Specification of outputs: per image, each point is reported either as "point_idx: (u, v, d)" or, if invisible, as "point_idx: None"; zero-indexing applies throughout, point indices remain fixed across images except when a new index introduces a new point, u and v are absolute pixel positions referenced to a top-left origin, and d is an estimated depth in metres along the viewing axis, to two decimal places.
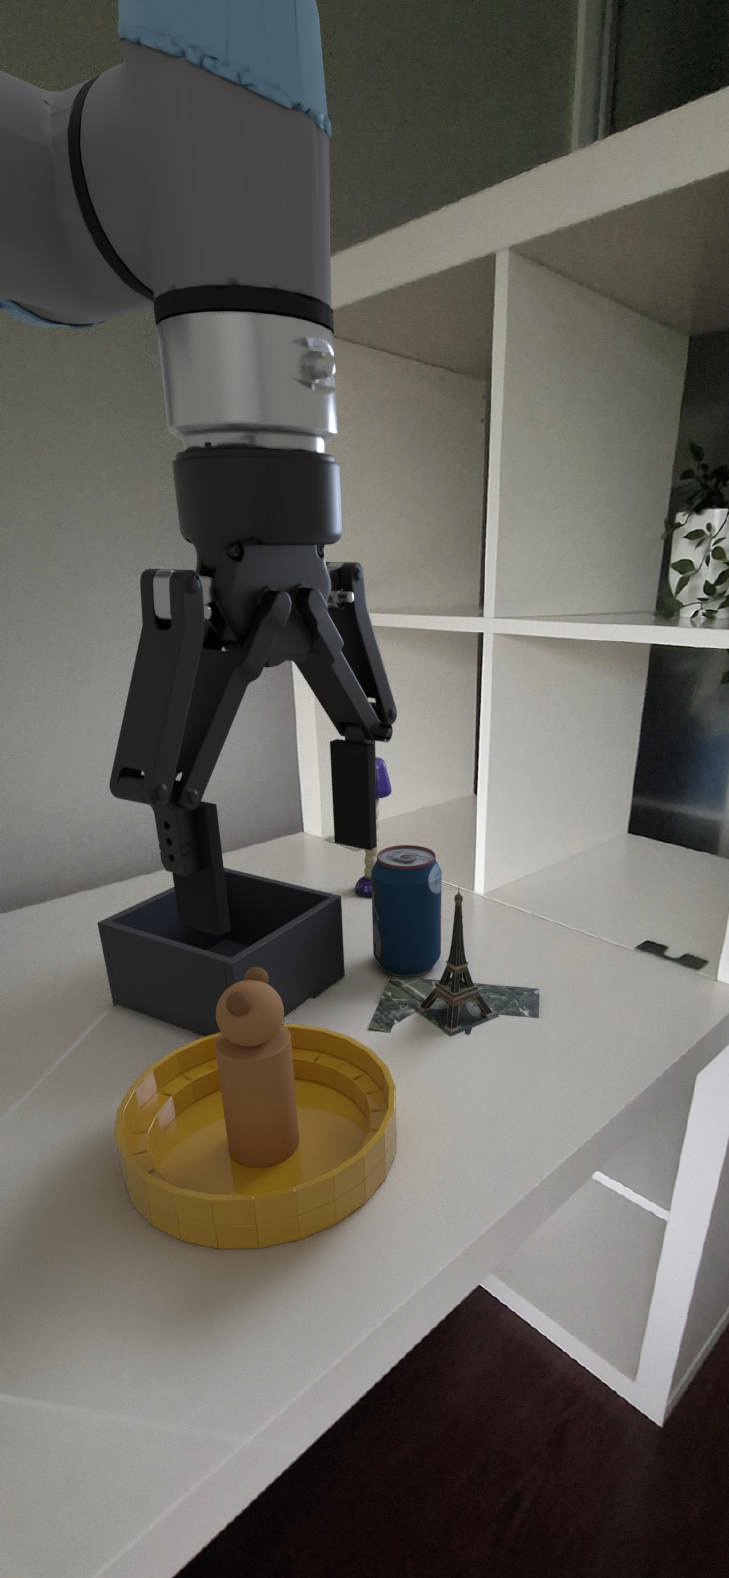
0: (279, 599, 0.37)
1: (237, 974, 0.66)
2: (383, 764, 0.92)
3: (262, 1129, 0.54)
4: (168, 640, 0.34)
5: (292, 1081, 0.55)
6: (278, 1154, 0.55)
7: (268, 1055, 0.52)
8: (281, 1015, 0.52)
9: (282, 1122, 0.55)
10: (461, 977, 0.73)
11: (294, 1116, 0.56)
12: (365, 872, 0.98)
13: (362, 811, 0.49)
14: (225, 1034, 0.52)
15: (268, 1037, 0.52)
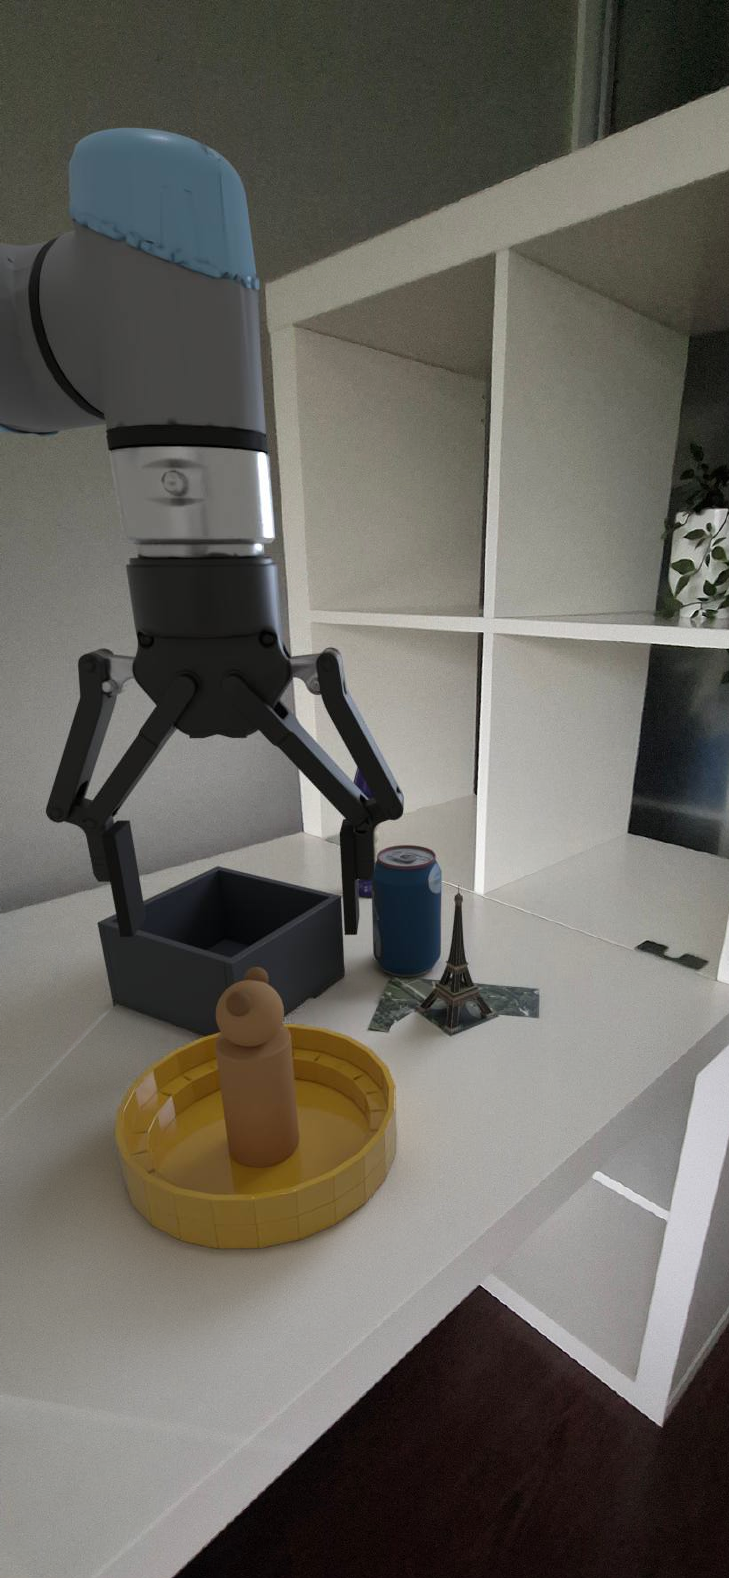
0: (177, 682, 0.42)
1: (237, 974, 0.66)
2: None
3: (262, 1129, 0.54)
4: None
5: (292, 1081, 0.55)
6: (278, 1154, 0.55)
7: (268, 1055, 0.52)
8: (281, 1015, 0.52)
9: (282, 1122, 0.55)
10: (461, 977, 0.73)
11: (294, 1116, 0.56)
12: None
13: None
14: (225, 1034, 0.52)
15: (268, 1037, 0.52)
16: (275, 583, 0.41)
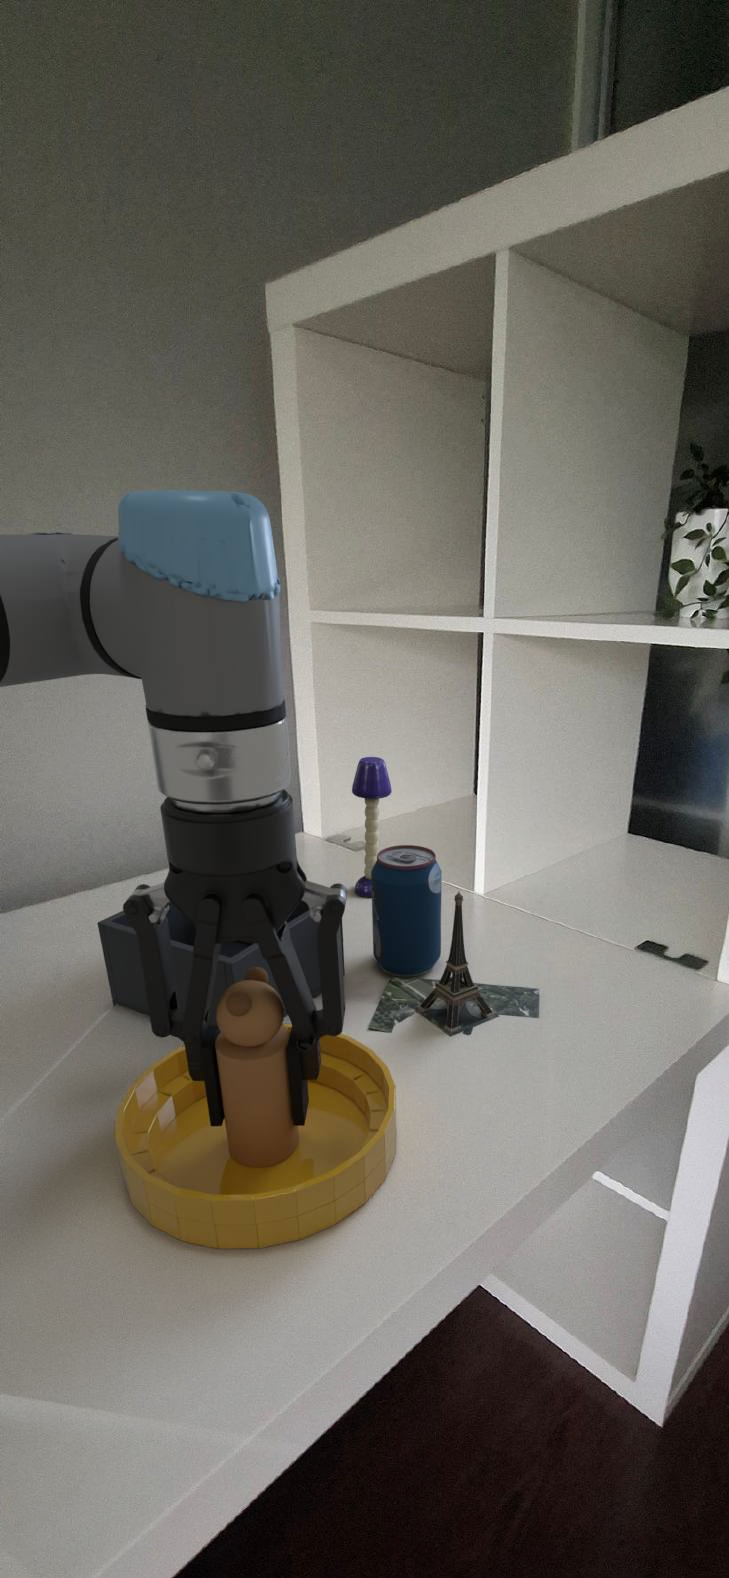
0: (204, 904, 0.47)
1: (237, 974, 0.66)
2: (383, 764, 0.92)
3: (262, 1129, 0.54)
4: None
5: None
6: (278, 1154, 0.55)
7: (268, 1055, 0.52)
8: (281, 1015, 0.52)
9: (282, 1122, 0.55)
10: (461, 977, 0.73)
11: None
12: (365, 872, 0.98)
13: None
14: (225, 1034, 0.52)
15: (268, 1037, 0.52)
16: (291, 820, 0.47)
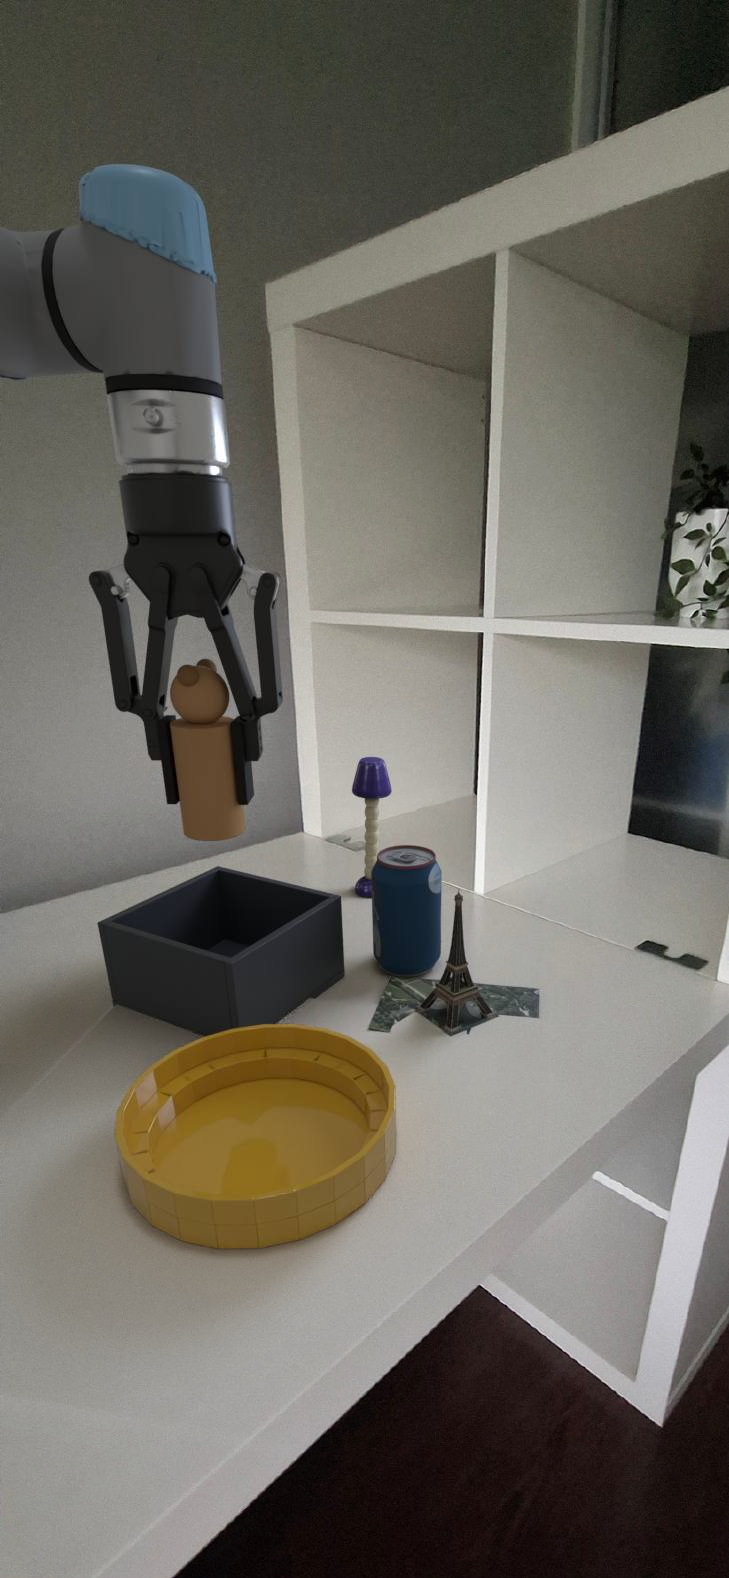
0: (156, 571, 0.56)
1: (237, 974, 0.66)
2: (383, 764, 0.92)
3: (210, 801, 0.63)
4: None
5: None
6: (225, 830, 0.64)
7: (214, 727, 0.61)
8: (226, 695, 0.61)
9: (228, 799, 0.63)
10: (461, 977, 0.73)
11: None
12: (365, 872, 0.98)
13: None
14: (177, 707, 0.60)
15: (214, 712, 0.61)
16: (229, 497, 0.55)
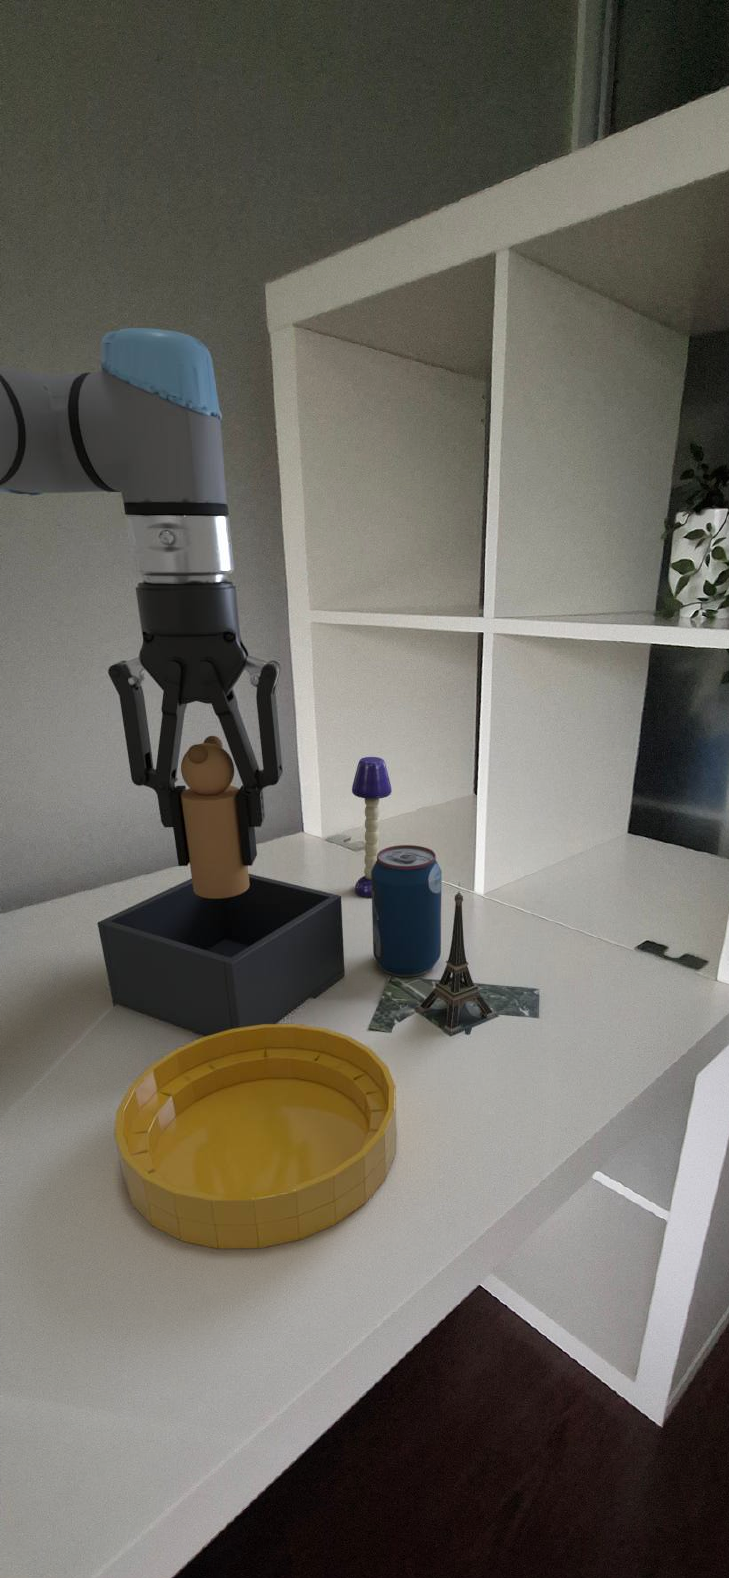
0: (169, 665, 0.63)
1: (237, 974, 0.66)
2: (383, 764, 0.92)
3: (218, 863, 0.70)
4: None
5: None
6: (231, 888, 0.71)
7: (221, 798, 0.68)
8: (231, 769, 0.68)
9: (234, 861, 0.70)
10: (461, 977, 0.73)
11: None
12: (365, 872, 0.98)
13: None
14: (187, 781, 0.67)
15: (221, 785, 0.68)
16: (234, 600, 0.62)
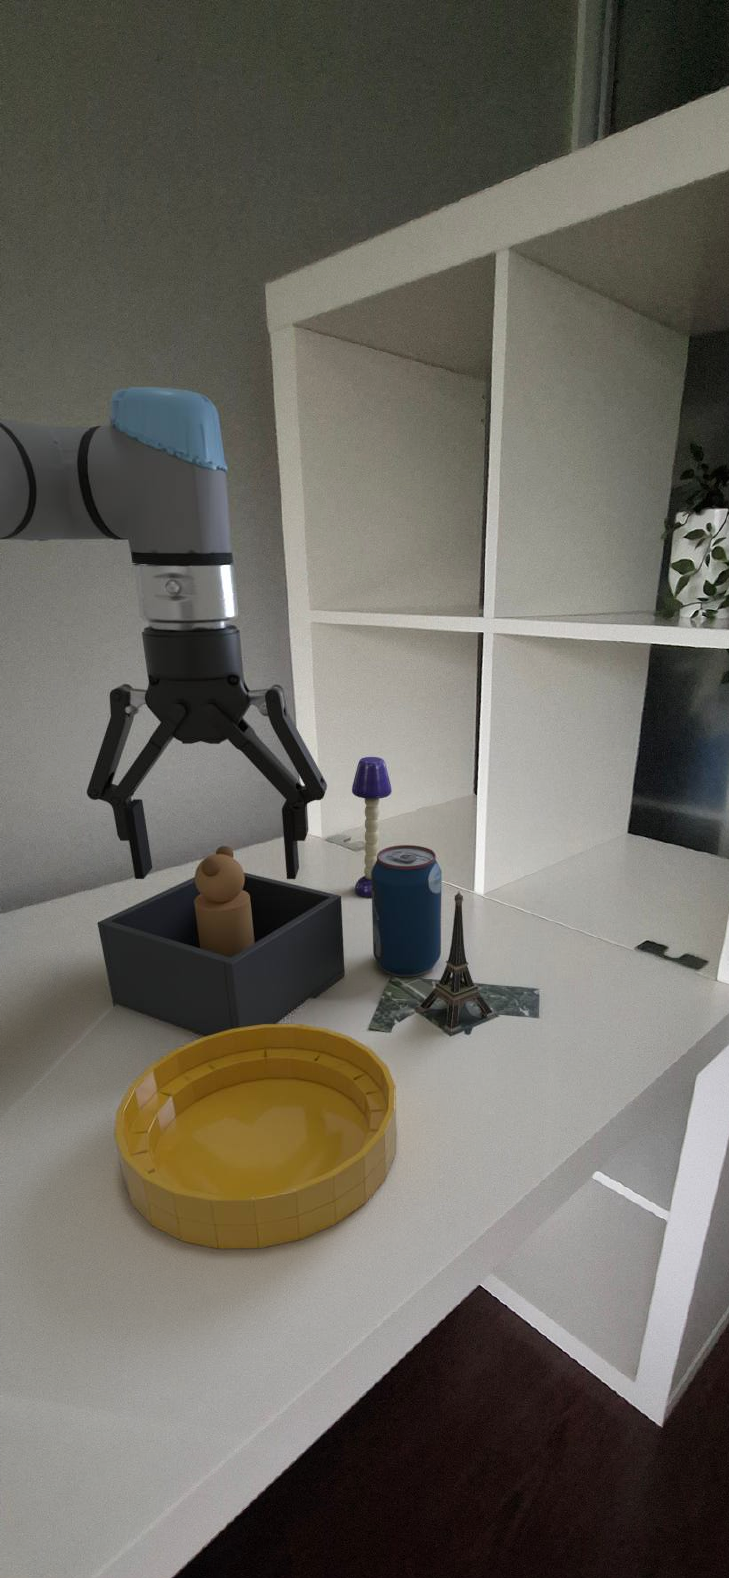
0: (174, 708, 0.64)
1: (237, 974, 0.66)
2: (383, 764, 0.92)
3: None
4: None
5: (251, 932, 0.75)
6: None
7: (232, 907, 0.72)
8: (242, 879, 0.72)
9: None
10: (461, 977, 0.73)
11: None
12: (365, 872, 0.98)
13: None
14: (201, 891, 0.72)
15: (232, 894, 0.72)
16: (238, 644, 0.64)
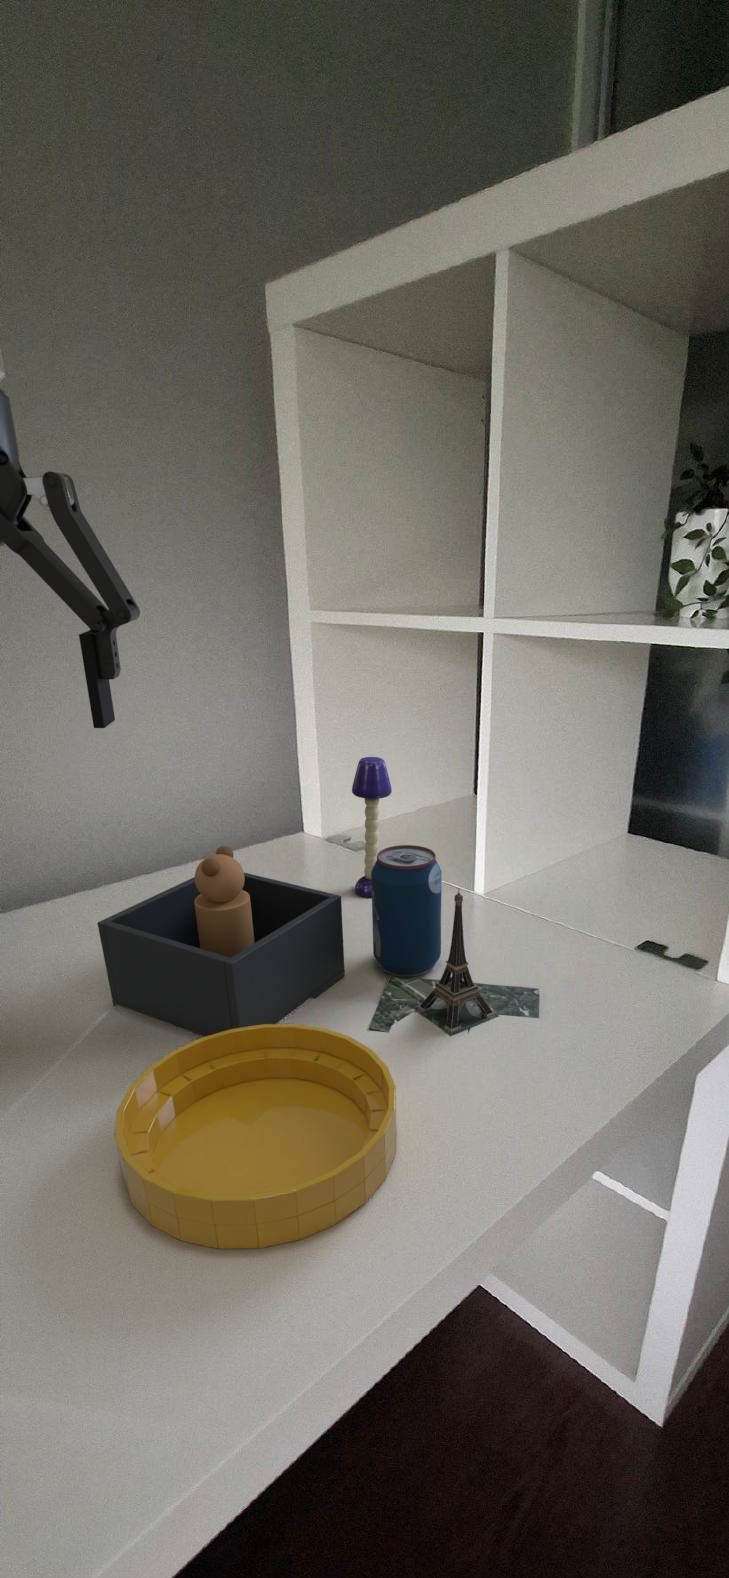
0: None
1: (237, 974, 0.66)
2: (383, 764, 0.92)
3: None
4: None
5: (251, 932, 0.75)
6: None
7: (232, 907, 0.72)
8: (242, 879, 0.72)
9: None
10: (461, 977, 0.73)
11: None
12: (365, 872, 0.98)
13: None
14: (201, 891, 0.72)
15: (232, 894, 0.72)
16: (3, 410, 0.51)
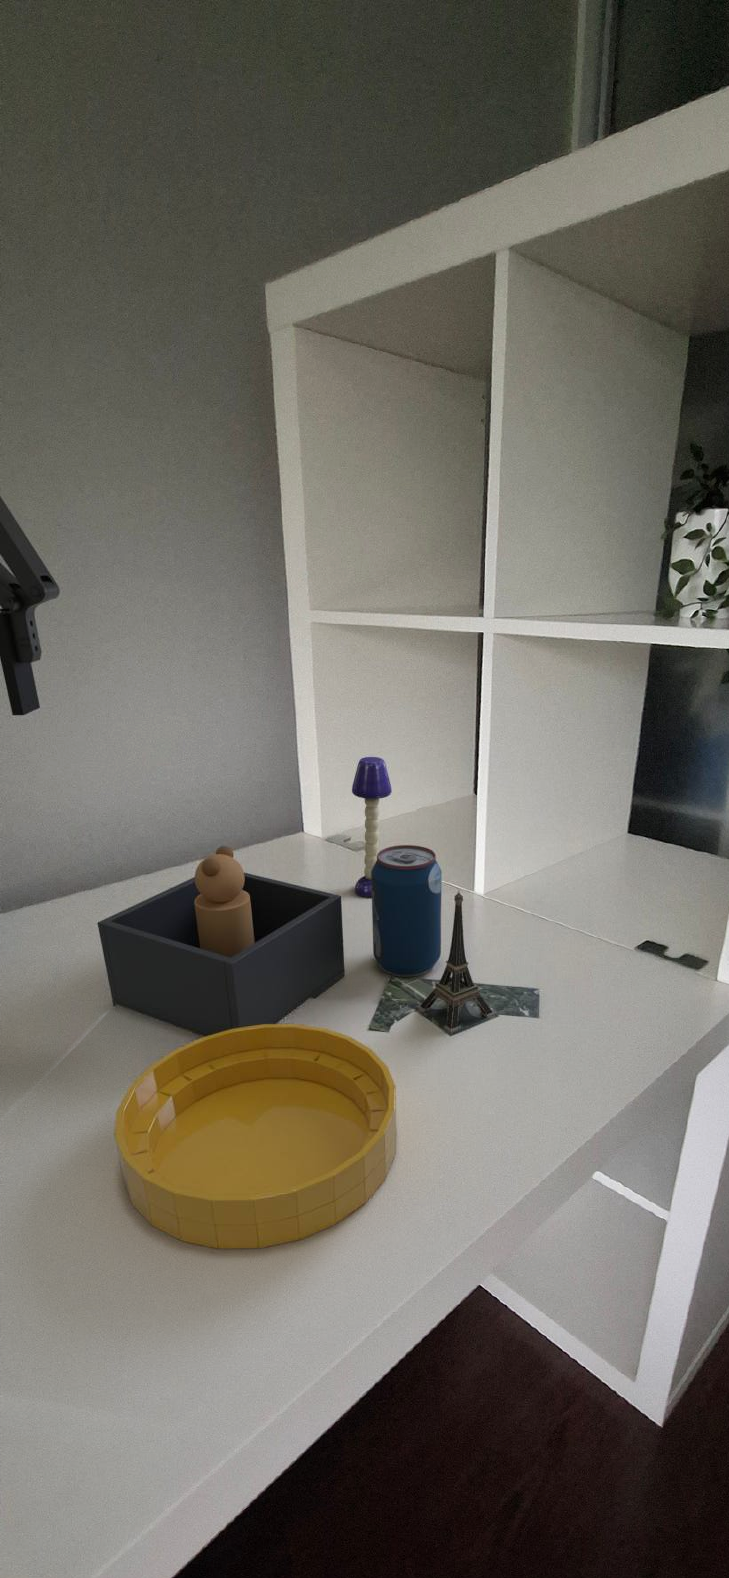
0: None
1: (237, 974, 0.66)
2: (383, 764, 0.92)
3: None
4: None
5: (251, 932, 0.75)
6: None
7: (232, 907, 0.72)
8: (242, 879, 0.72)
9: None
10: (461, 977, 0.73)
11: None
12: (365, 872, 0.98)
13: None
14: (201, 891, 0.72)
15: (232, 894, 0.72)
16: None
